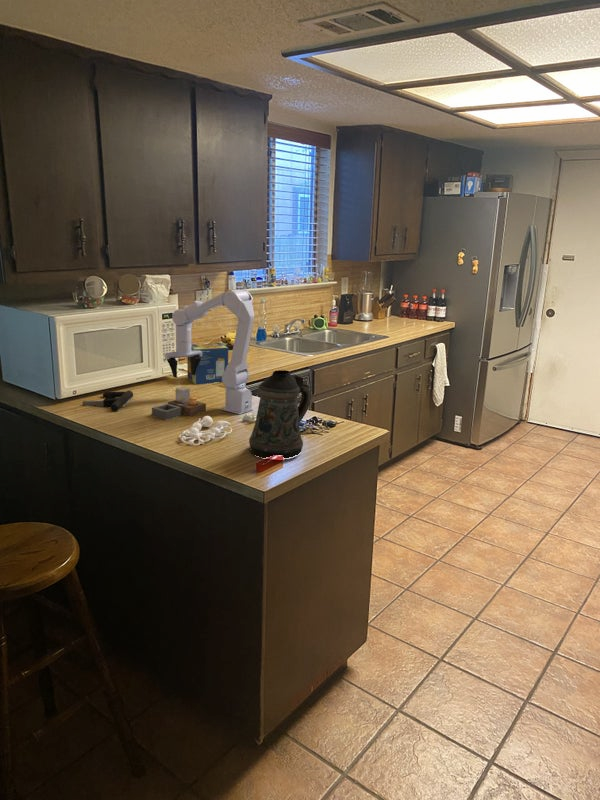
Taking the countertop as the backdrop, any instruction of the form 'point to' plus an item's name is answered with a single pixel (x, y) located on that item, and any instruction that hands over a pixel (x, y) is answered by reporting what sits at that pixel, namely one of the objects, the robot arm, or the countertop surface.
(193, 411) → the socket block
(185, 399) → the steel peg
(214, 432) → the tangled rod sculpture
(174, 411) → the grey square frame
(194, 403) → the pin
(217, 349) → the protein box
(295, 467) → the countertop surface
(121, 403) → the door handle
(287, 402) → the beer stein
